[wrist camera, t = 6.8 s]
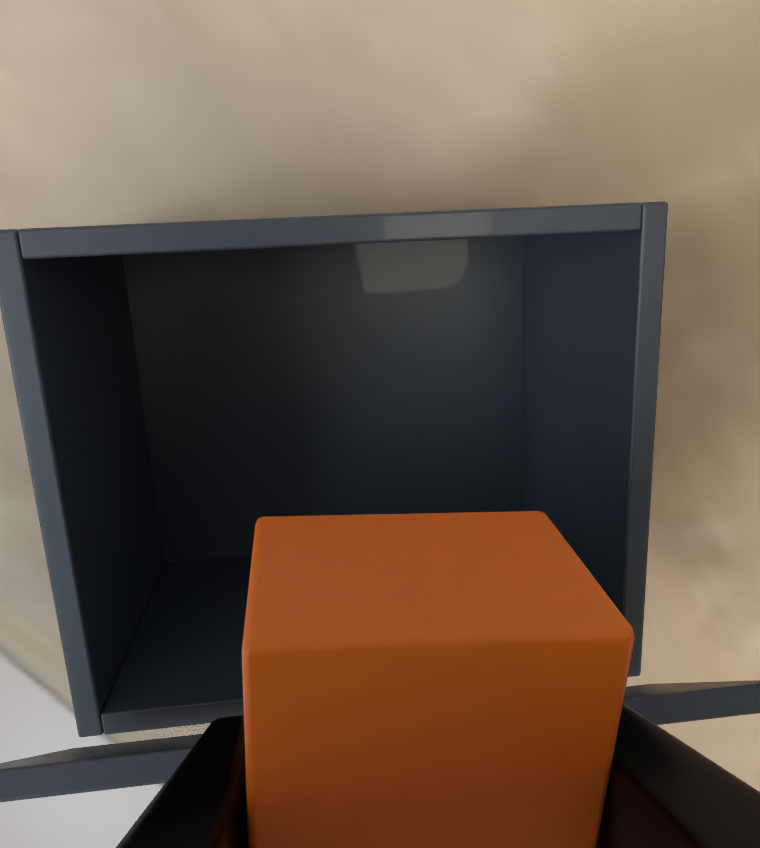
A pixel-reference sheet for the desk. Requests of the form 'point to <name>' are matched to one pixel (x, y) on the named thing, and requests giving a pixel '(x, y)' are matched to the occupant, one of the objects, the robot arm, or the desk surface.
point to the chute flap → (165, 755)
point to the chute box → (317, 410)
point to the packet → (427, 683)
